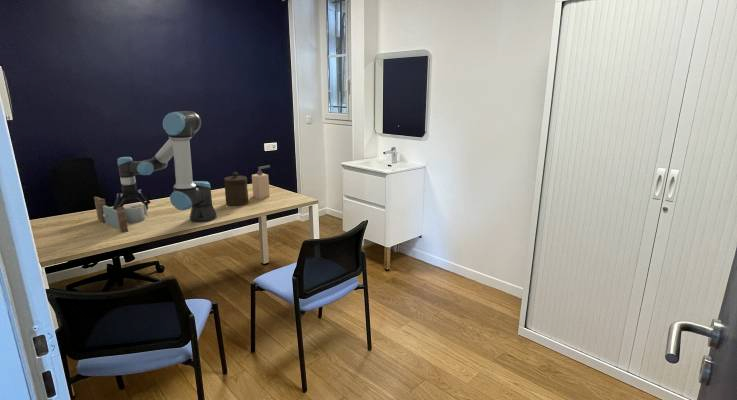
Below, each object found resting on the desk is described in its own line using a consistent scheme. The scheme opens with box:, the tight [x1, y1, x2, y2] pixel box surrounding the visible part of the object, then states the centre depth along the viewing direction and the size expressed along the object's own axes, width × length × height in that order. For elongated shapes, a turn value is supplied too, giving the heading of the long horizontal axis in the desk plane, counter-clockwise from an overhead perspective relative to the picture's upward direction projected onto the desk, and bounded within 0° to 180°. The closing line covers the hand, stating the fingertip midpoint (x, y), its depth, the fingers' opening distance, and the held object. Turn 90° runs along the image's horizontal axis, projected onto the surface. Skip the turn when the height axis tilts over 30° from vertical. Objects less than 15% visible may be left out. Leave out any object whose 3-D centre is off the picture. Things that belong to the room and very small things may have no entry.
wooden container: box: [223, 171, 250, 207], centre depth 274 cm, size 15×15×22 cm
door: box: [102, 205, 120, 230], centre depth 228 cm, size 22×3×10 cm, turn 52°
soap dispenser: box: [251, 165, 271, 200], centre depth 293 cm, size 13×9×22 cm
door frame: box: [93, 196, 129, 234], centre depth 231 cm, size 36×3×14 cm, turn 52°
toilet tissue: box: [124, 204, 146, 224], centre depth 239 cm, size 9×13×9 cm
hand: (134, 218), depth 241 cm, fingers open, 13 cm apart
